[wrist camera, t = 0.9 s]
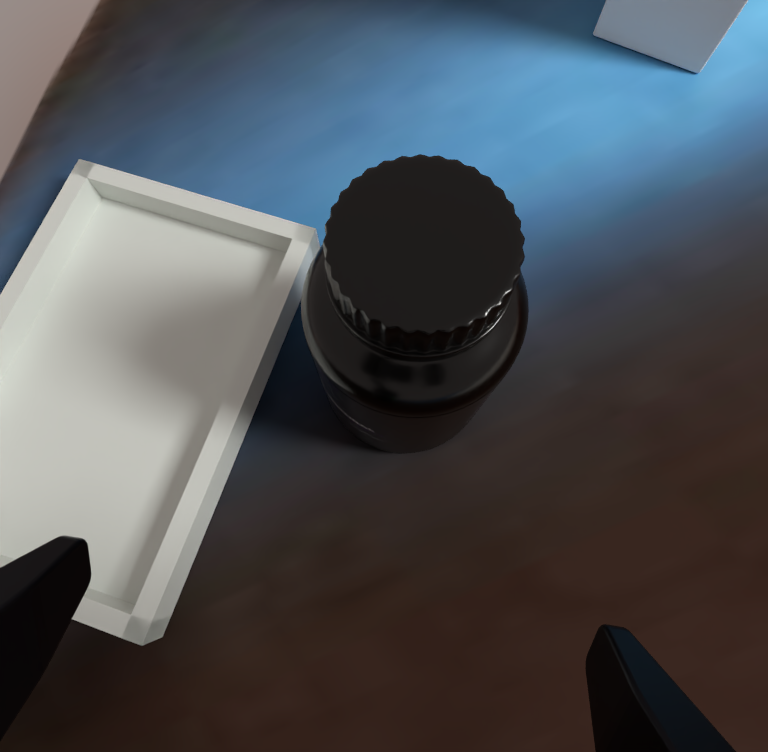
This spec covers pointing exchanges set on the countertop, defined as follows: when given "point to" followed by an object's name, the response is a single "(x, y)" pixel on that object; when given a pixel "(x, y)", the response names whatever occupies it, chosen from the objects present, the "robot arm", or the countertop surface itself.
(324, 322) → the supplement bottle
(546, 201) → the countertop surface
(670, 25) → the milk
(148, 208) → the tray
